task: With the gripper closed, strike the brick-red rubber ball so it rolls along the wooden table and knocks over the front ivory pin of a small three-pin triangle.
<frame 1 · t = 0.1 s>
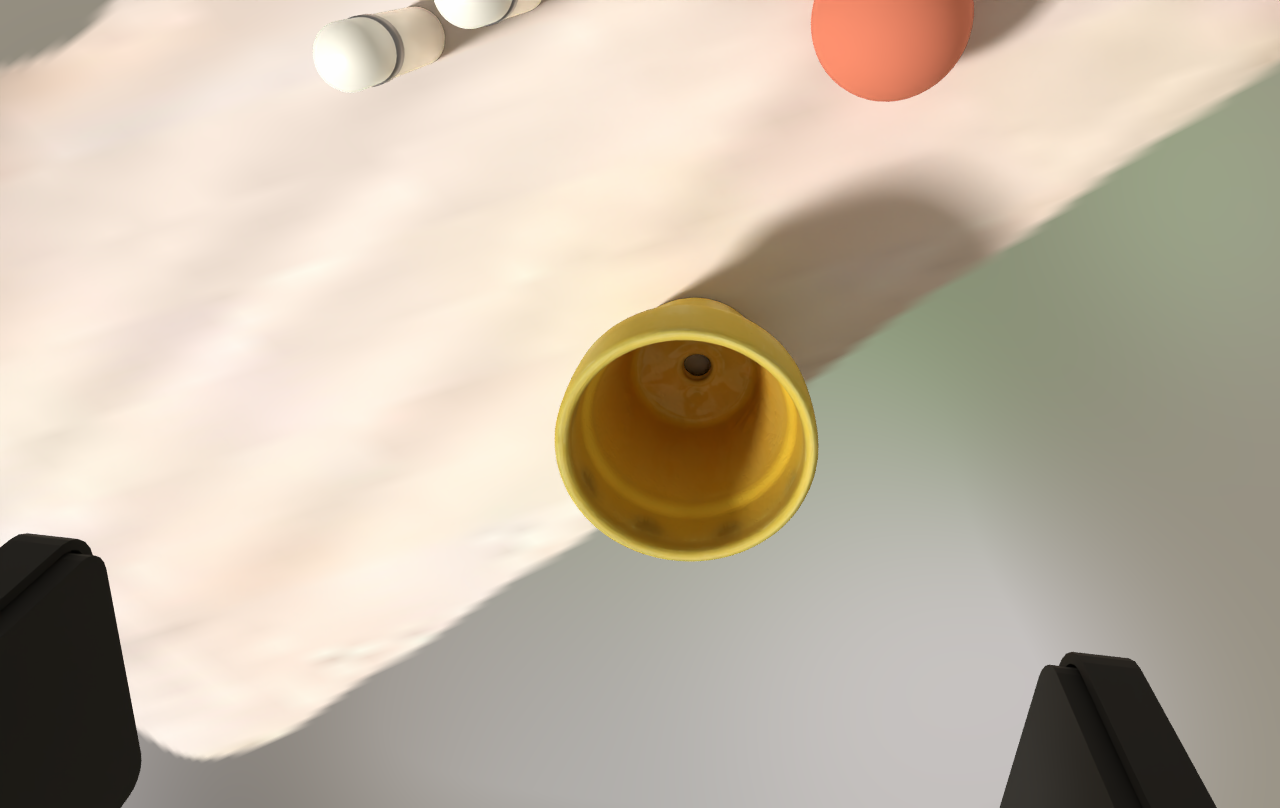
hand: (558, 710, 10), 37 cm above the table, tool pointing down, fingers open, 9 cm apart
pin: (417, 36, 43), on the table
plant pot: (695, 358, 48), on the table
ball: (890, 19, 38), on the table
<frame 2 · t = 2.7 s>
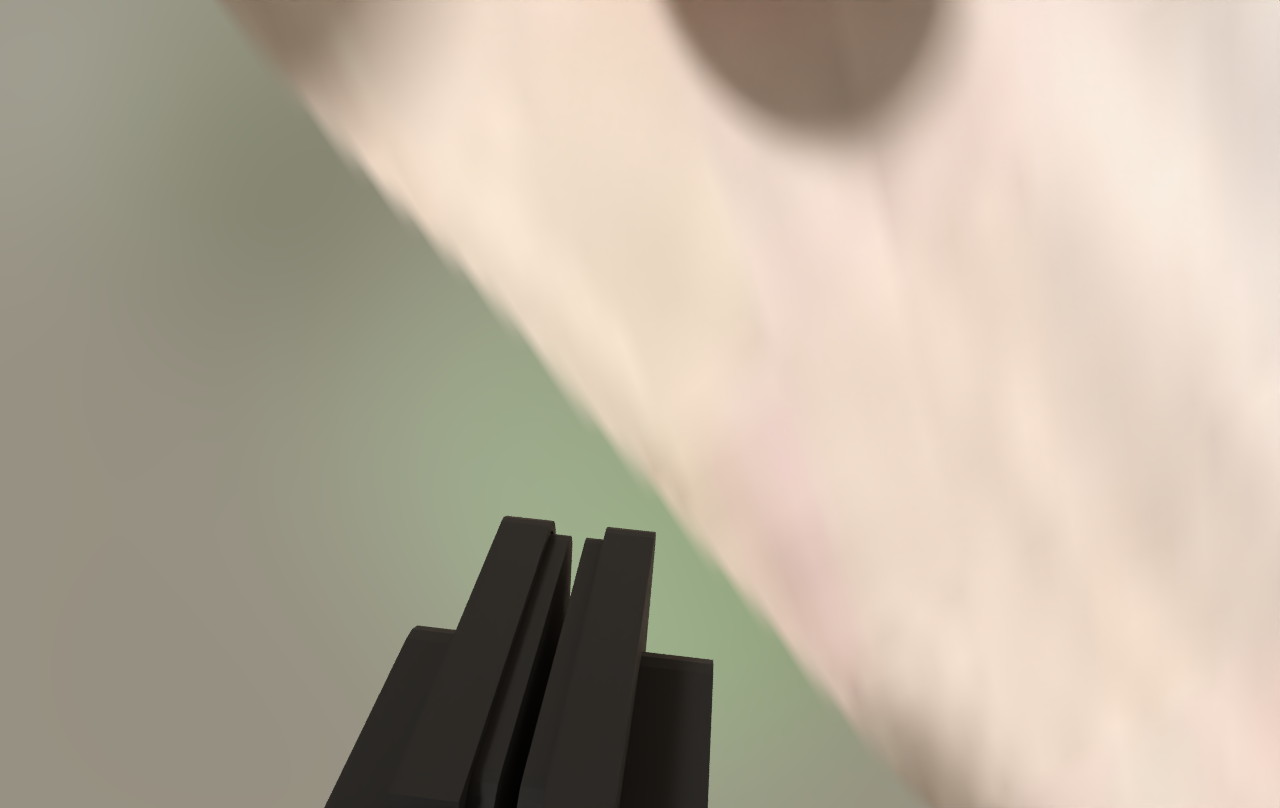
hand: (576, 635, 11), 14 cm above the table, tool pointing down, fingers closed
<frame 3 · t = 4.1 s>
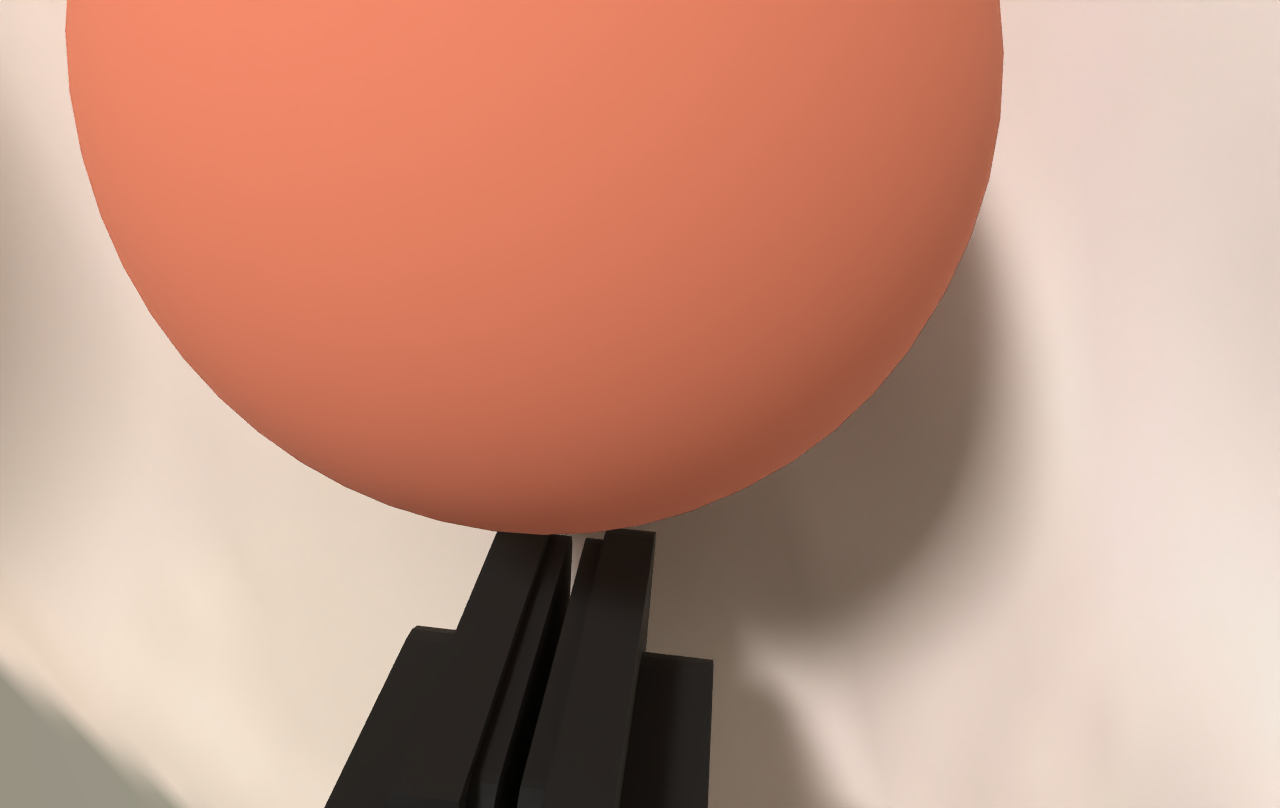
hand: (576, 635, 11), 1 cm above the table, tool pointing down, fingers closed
ball: (553, 108, 7), on the table
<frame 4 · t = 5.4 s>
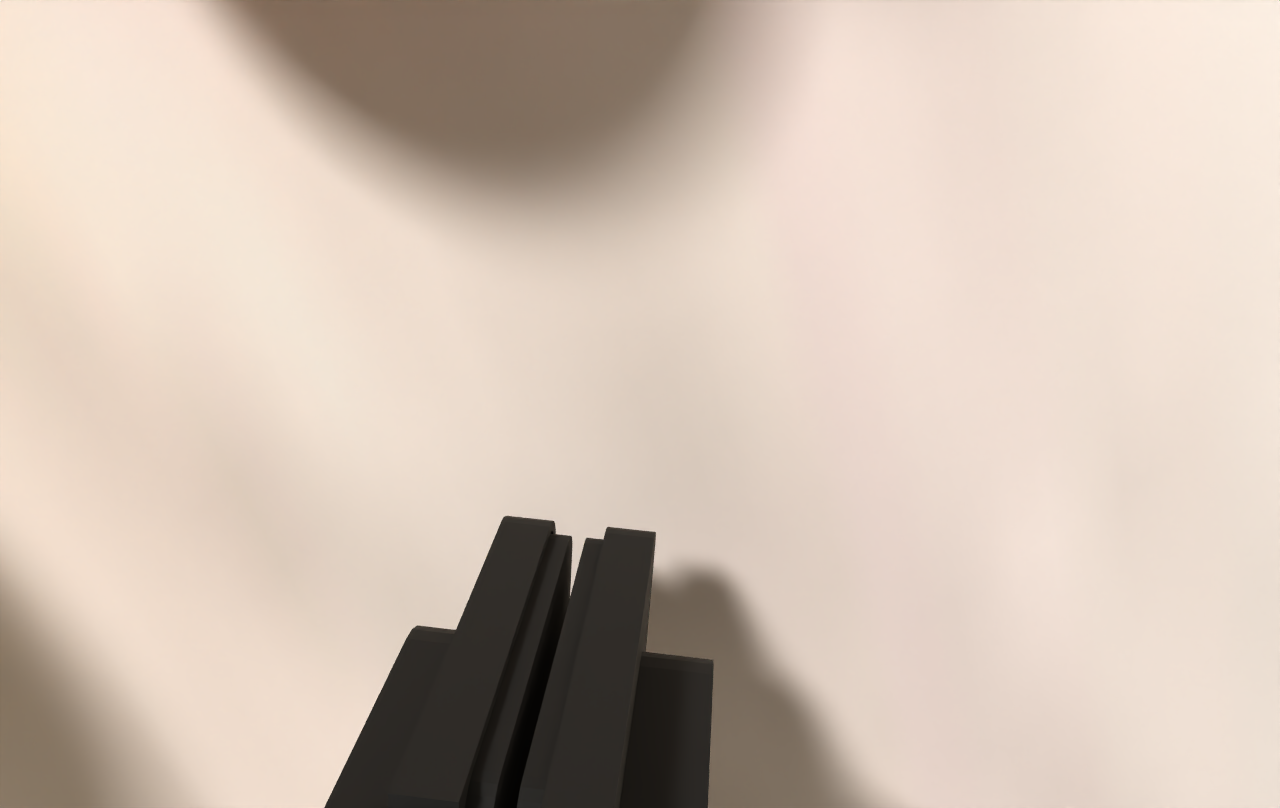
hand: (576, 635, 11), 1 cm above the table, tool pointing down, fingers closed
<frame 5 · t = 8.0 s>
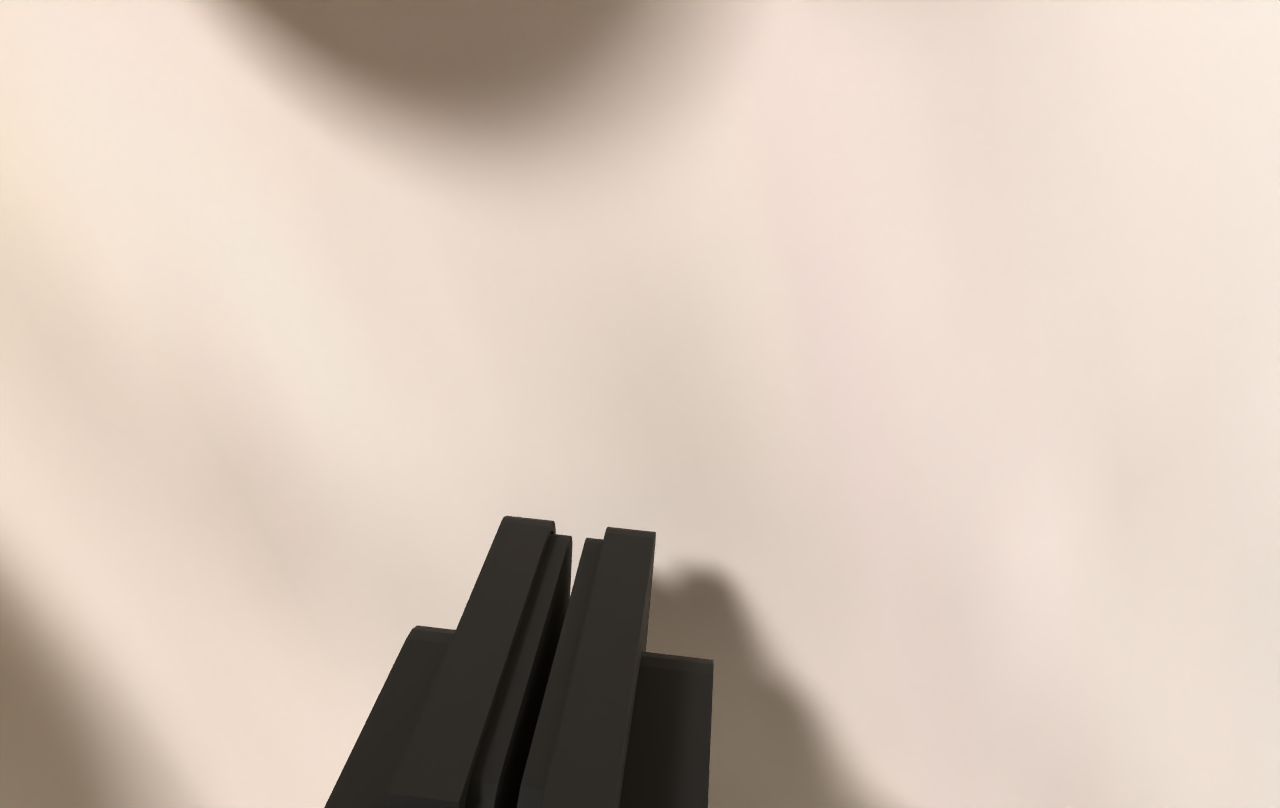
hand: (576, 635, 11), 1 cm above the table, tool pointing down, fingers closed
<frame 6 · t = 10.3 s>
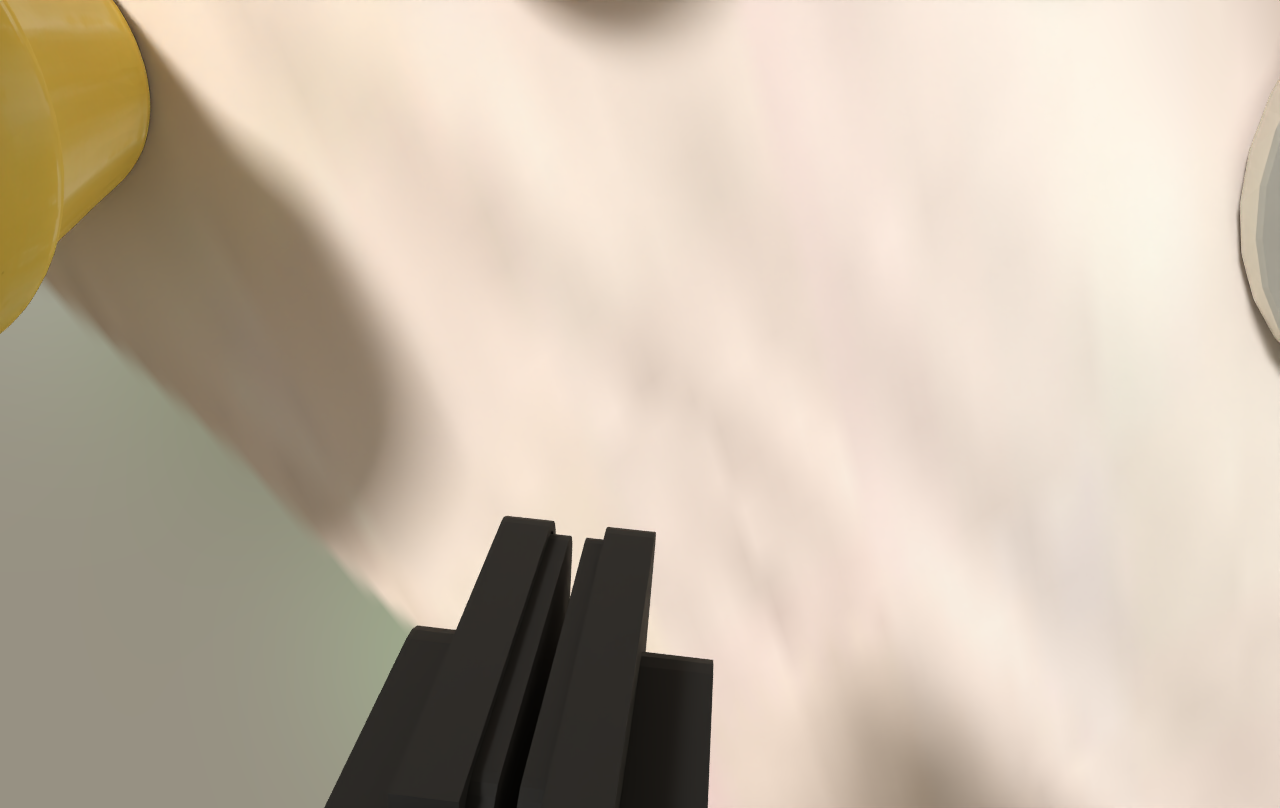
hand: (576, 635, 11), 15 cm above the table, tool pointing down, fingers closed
plant pot: (32, 73, 25), on the table
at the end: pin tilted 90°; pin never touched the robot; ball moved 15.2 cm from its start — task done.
